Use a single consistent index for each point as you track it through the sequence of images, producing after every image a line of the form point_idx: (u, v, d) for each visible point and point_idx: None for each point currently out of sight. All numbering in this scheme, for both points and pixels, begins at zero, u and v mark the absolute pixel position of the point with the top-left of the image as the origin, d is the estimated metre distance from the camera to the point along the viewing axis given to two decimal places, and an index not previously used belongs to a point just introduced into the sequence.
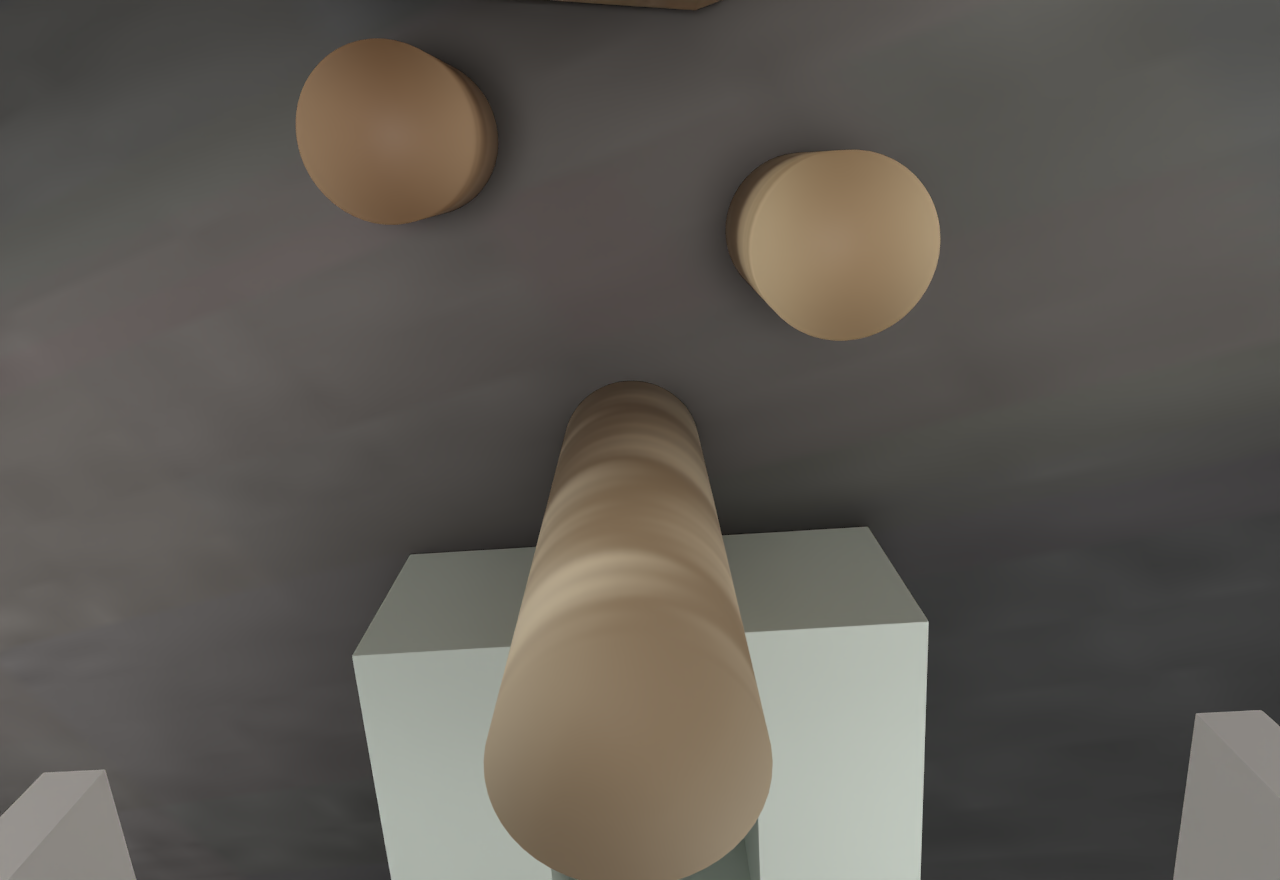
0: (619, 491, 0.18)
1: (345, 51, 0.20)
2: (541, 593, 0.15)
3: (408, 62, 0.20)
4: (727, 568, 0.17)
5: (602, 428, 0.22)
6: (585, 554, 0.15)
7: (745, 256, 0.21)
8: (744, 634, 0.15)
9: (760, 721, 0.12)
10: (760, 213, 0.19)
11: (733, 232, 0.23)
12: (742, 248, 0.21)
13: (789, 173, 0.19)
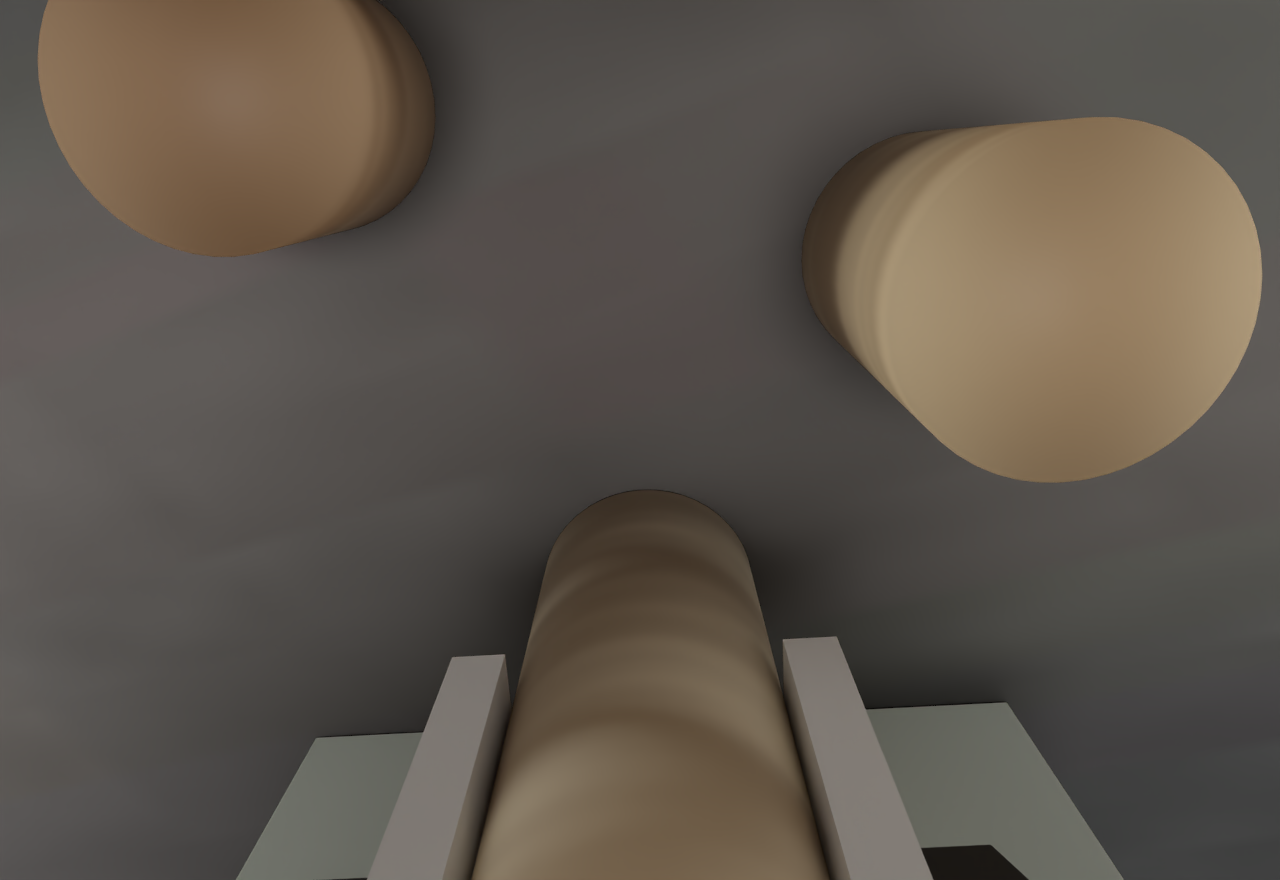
0: (629, 855, 0.08)
1: None
2: None
3: None
4: None
5: (601, 612, 0.13)
6: None
7: (862, 316, 0.11)
8: None
9: None
10: (909, 243, 0.10)
11: (824, 265, 0.14)
12: (853, 300, 0.12)
13: (971, 165, 0.10)
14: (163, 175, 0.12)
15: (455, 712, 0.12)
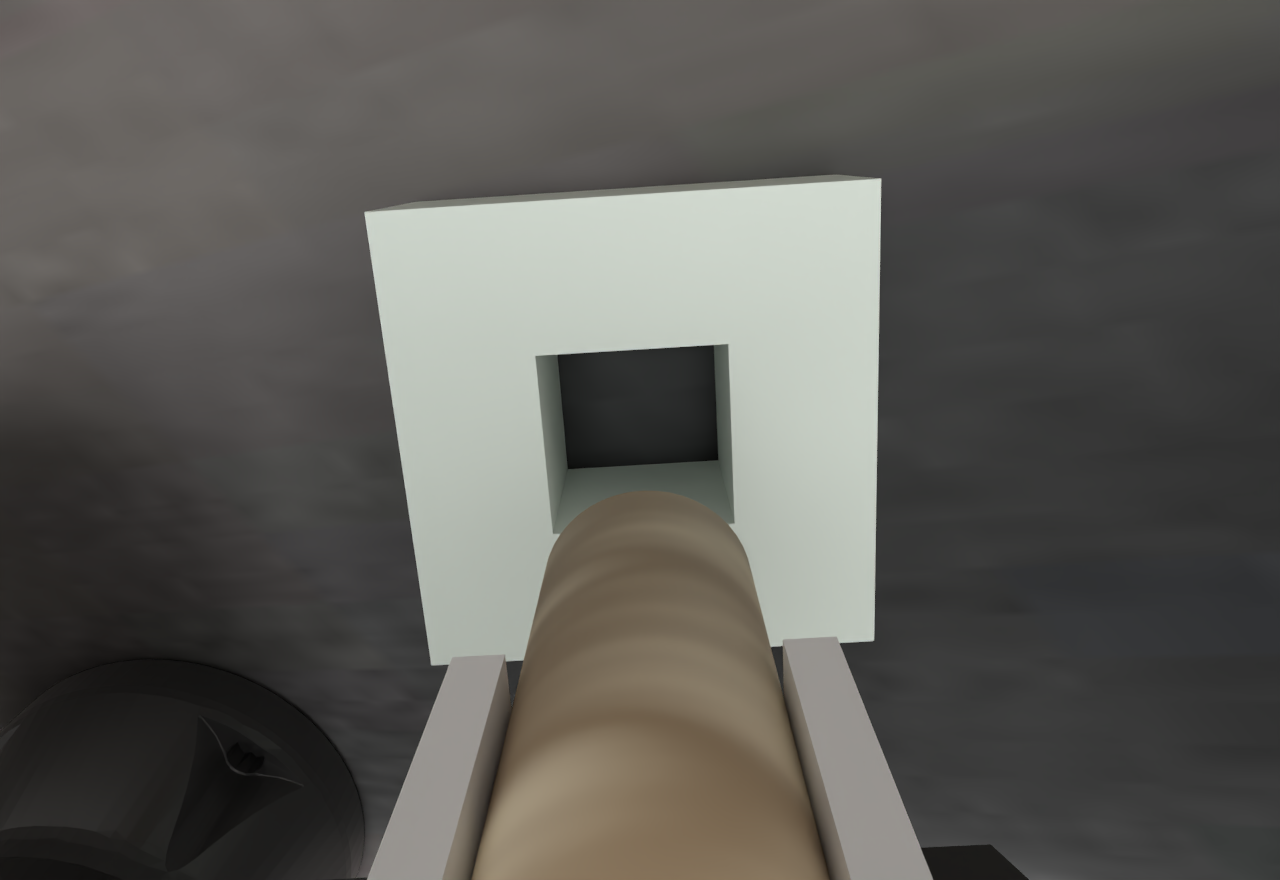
0: (631, 856, 0.08)
1: None
2: None
3: None
4: None
5: (601, 613, 0.13)
6: None
7: None
8: None
9: None
10: None
11: None
12: None
13: None
14: None
15: (455, 713, 0.12)
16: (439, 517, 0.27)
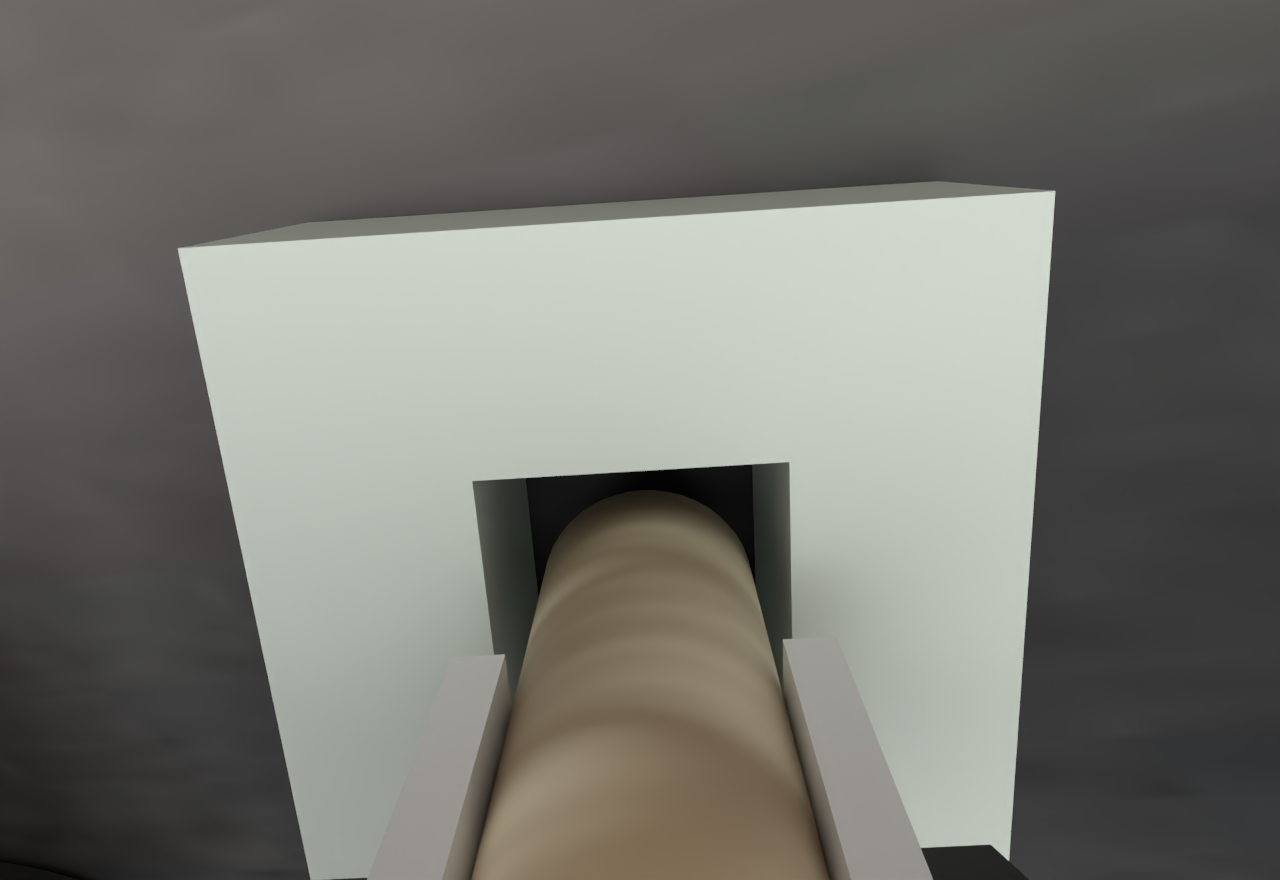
0: (631, 856, 0.08)
1: None
2: None
3: None
4: None
5: (601, 612, 0.13)
6: None
7: None
8: None
9: None
10: None
11: None
12: None
13: None
14: None
15: (455, 712, 0.12)
16: (325, 727, 0.17)
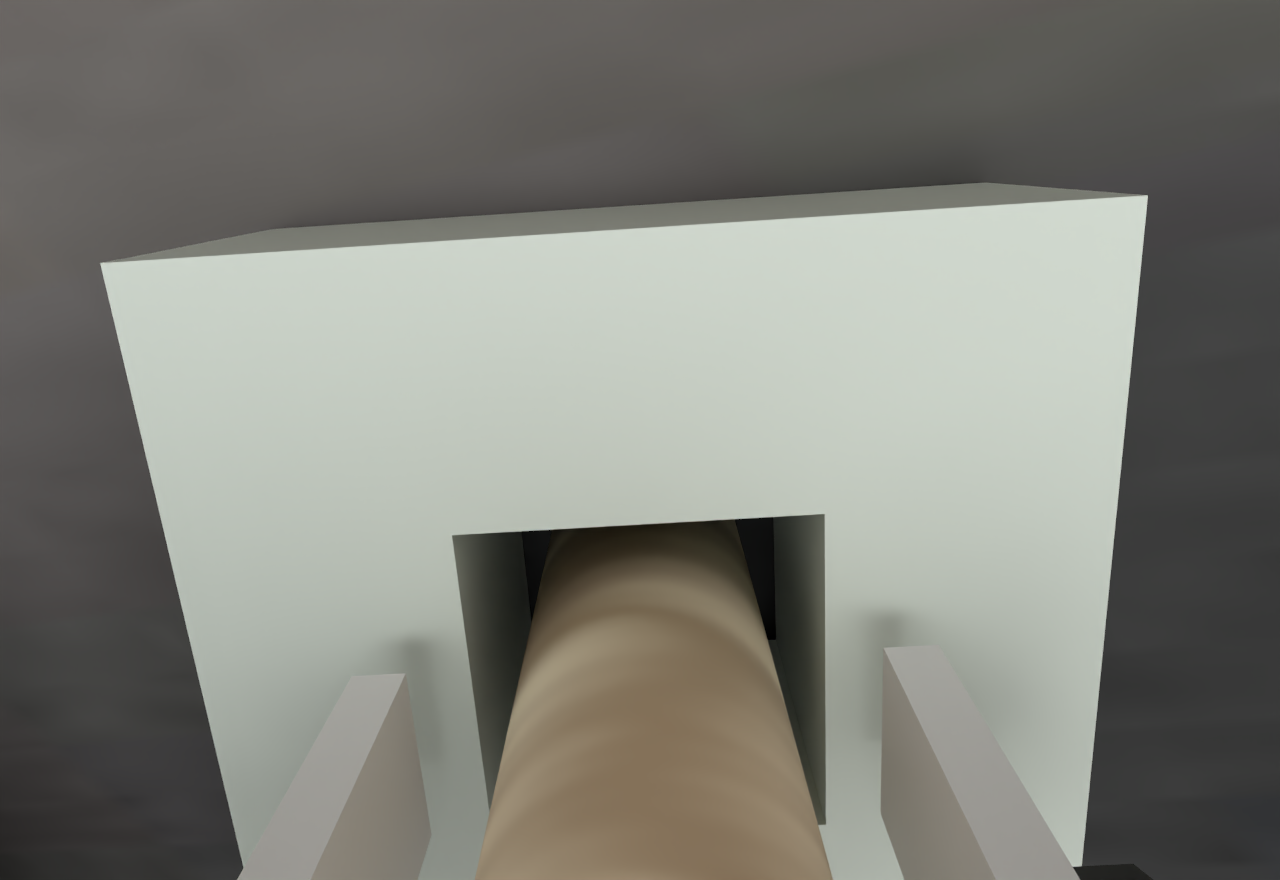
0: (635, 697, 0.11)
1: None
2: None
3: None
4: (820, 841, 0.10)
5: (606, 541, 0.15)
6: None
7: None
8: None
9: None
10: None
11: None
12: None
13: None
14: None
15: (343, 735, 0.11)
16: None
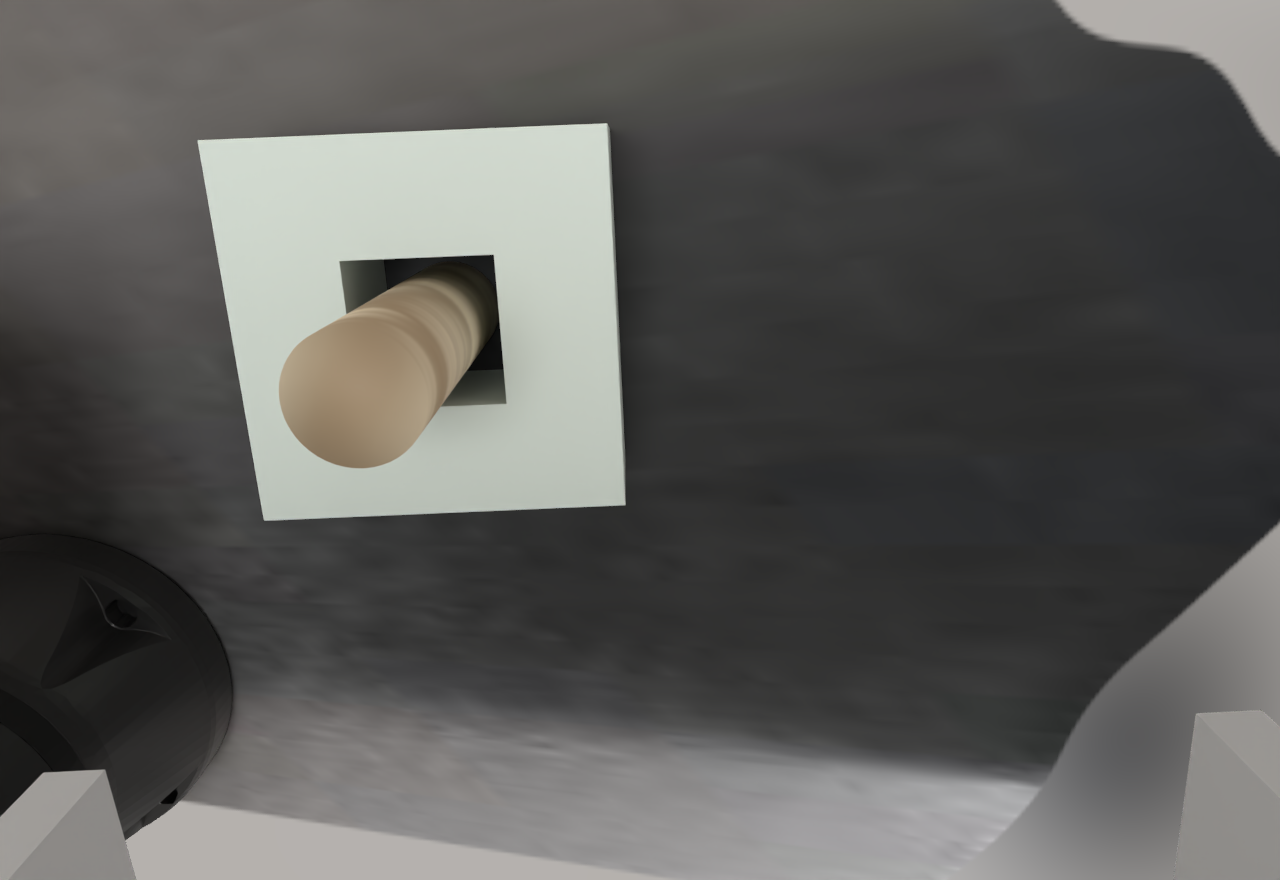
0: (393, 294, 0.30)
1: None
2: None
3: None
4: (451, 335, 0.29)
5: (410, 277, 0.34)
6: (354, 310, 0.27)
7: None
8: (440, 355, 0.27)
9: (419, 372, 0.24)
10: None
11: None
12: None
13: None
14: None
15: None
16: (265, 394, 0.34)
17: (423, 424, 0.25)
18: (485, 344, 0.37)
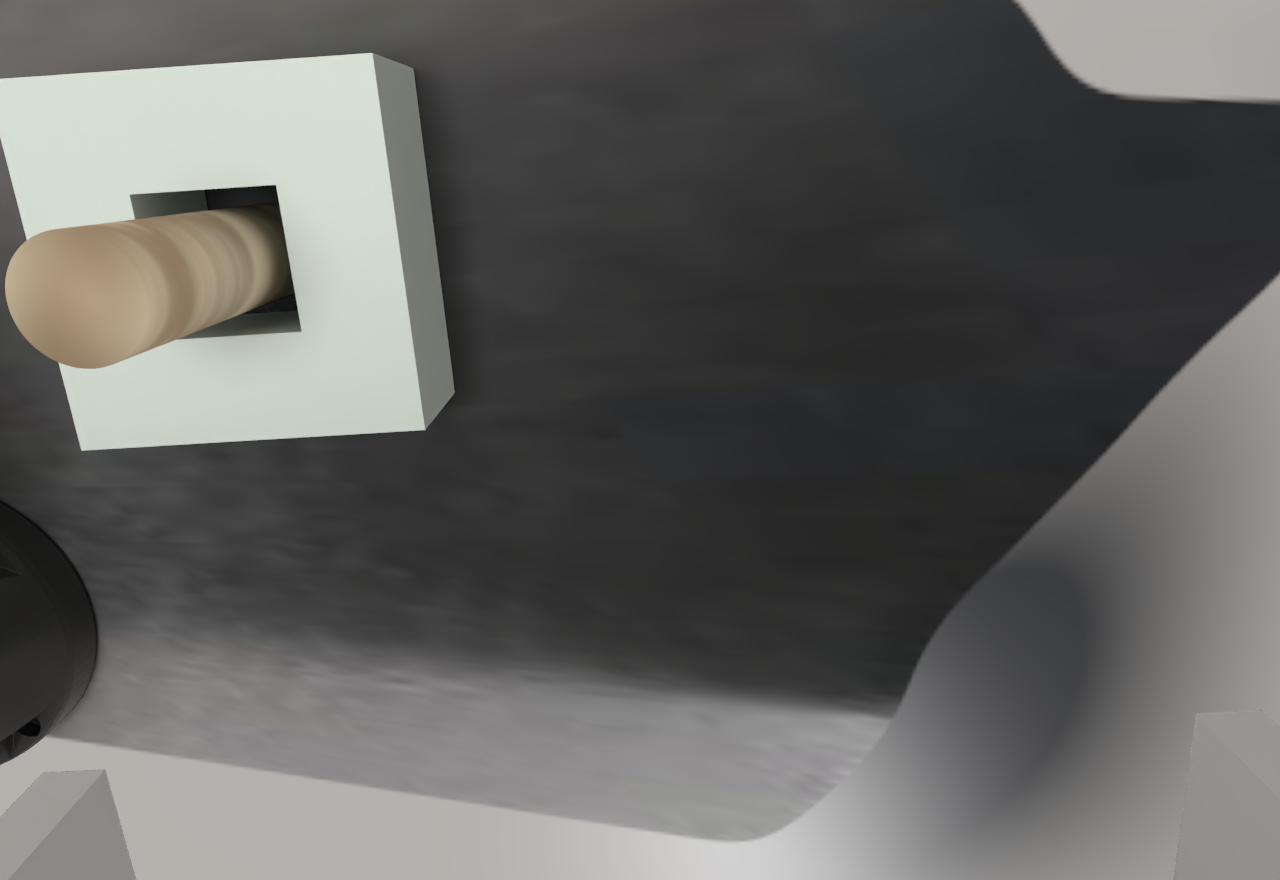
0: (159, 216, 0.31)
1: None
2: None
3: None
4: (210, 253, 0.30)
5: None
6: None
7: None
8: (182, 266, 0.28)
9: (135, 273, 0.26)
10: None
11: None
12: None
13: None
14: None
15: None
16: None
17: (145, 324, 0.26)
18: None
